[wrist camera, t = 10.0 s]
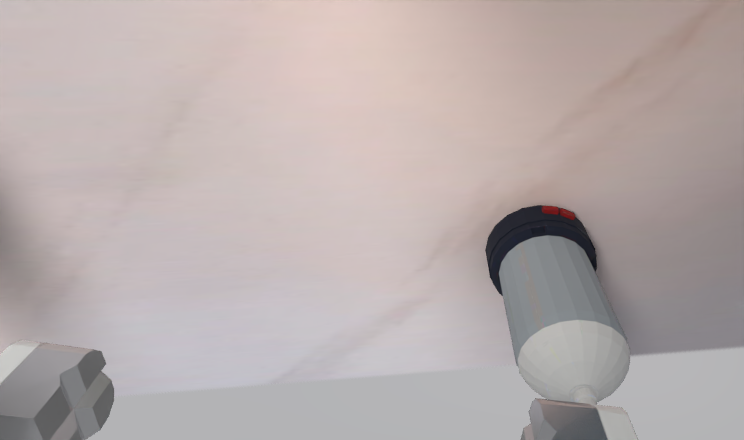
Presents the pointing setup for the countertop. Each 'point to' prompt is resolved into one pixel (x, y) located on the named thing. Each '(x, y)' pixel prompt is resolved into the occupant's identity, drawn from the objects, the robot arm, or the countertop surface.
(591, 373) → the humidifier
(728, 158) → the countertop surface
